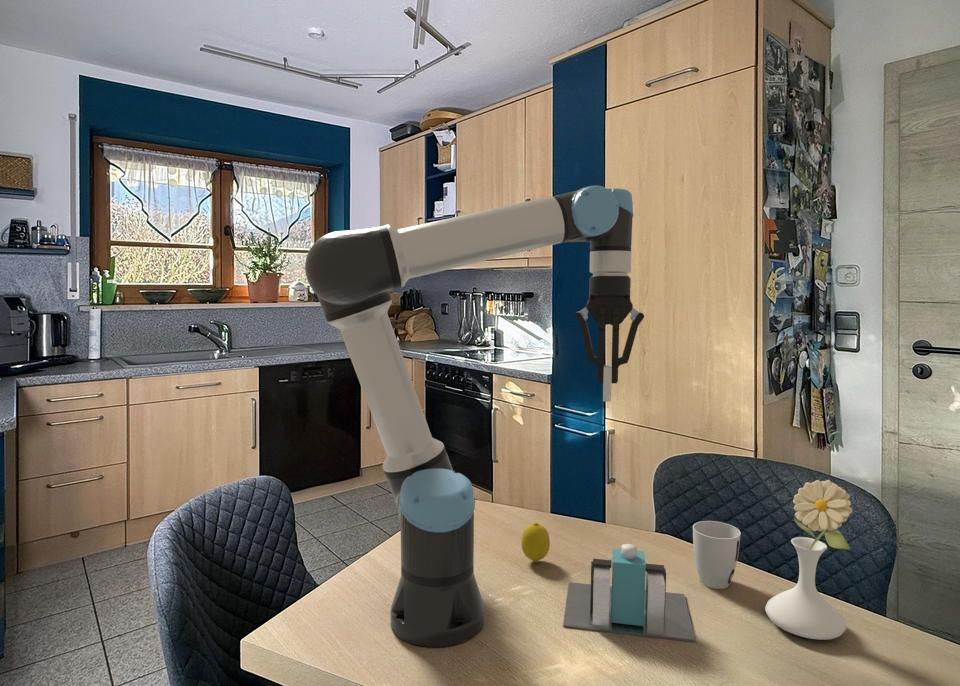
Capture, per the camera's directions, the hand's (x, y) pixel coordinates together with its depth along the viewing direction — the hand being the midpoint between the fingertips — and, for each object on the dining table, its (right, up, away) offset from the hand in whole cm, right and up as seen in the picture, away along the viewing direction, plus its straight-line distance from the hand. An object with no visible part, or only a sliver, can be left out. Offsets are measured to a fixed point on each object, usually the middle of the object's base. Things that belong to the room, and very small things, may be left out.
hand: (606, 400), depth 115 cm
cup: (+19, -33, -4) cm, 38 cm away
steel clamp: (0, -34, -14) cm, 37 cm away
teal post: (0, -34, -17) cm, 38 cm away
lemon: (-13, -32, +4) cm, 35 cm away
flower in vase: (+28, -35, -19) cm, 48 cm away
